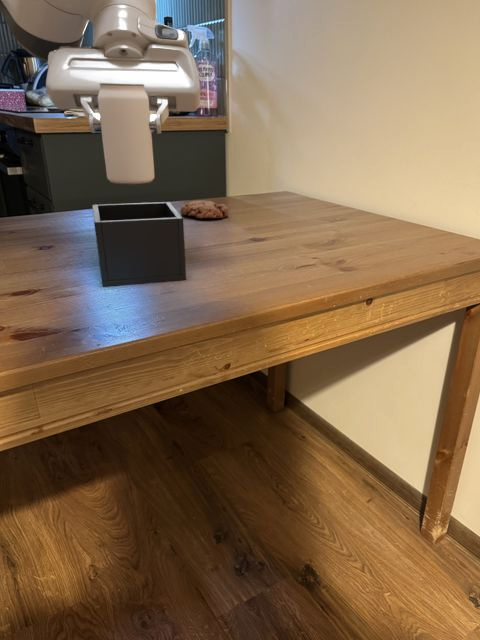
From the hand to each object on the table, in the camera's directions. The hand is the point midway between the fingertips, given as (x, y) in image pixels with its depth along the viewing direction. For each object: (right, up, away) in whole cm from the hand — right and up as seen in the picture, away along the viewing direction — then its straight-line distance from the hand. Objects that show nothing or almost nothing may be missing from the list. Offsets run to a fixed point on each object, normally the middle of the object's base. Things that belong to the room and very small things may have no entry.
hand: (126, 130), depth 66 cm
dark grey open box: (0, -17, +9) cm, 19 cm away
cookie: (+5, 0, +43) cm, 43 cm away
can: (0, -6, +4) cm, 7 cm away
